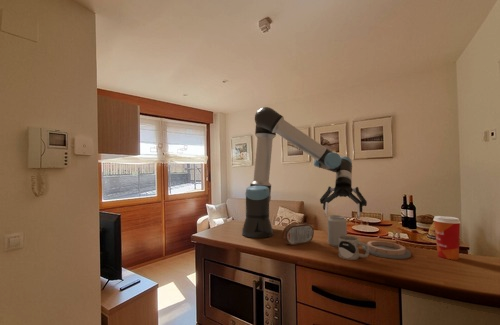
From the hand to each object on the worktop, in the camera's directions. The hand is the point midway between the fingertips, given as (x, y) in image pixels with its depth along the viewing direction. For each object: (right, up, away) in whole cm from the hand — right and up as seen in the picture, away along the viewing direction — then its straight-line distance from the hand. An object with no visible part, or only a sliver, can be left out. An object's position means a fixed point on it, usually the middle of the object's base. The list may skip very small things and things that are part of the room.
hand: (341, 216), depth 103 cm
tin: (-20, -11, -4) cm, 23 cm away
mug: (-4, -10, -21) cm, 23 cm away
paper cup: (+30, -10, -20) cm, 38 cm away
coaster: (+11, -10, -14) cm, 21 cm away
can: (-4, -11, -6) cm, 13 cm away
